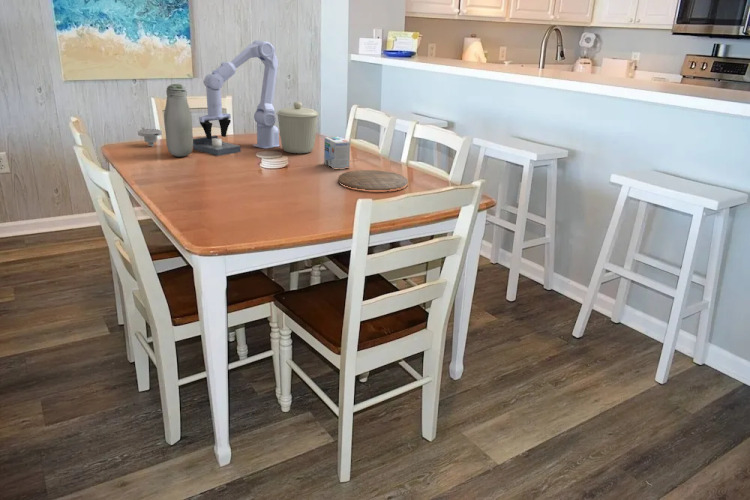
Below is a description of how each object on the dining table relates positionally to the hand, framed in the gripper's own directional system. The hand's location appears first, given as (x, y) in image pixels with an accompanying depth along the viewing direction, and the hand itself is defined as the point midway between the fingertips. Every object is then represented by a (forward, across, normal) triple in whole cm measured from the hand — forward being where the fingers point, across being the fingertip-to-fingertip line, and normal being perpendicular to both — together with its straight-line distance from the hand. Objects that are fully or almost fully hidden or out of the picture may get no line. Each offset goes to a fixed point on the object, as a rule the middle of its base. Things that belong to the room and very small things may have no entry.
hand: (216, 137), depth 241 cm
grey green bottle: (+6, -17, +1) cm, 18 cm away
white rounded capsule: (+6, 0, 0) cm, 6 cm away
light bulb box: (+6, +17, -52) cm, 55 cm away
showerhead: (+6, -15, +25) cm, 30 cm away
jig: (+6, 0, 0) cm, 6 cm away
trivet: (+6, +8, -77) cm, 78 cm away
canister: (+6, +25, -23) cm, 34 cm away
